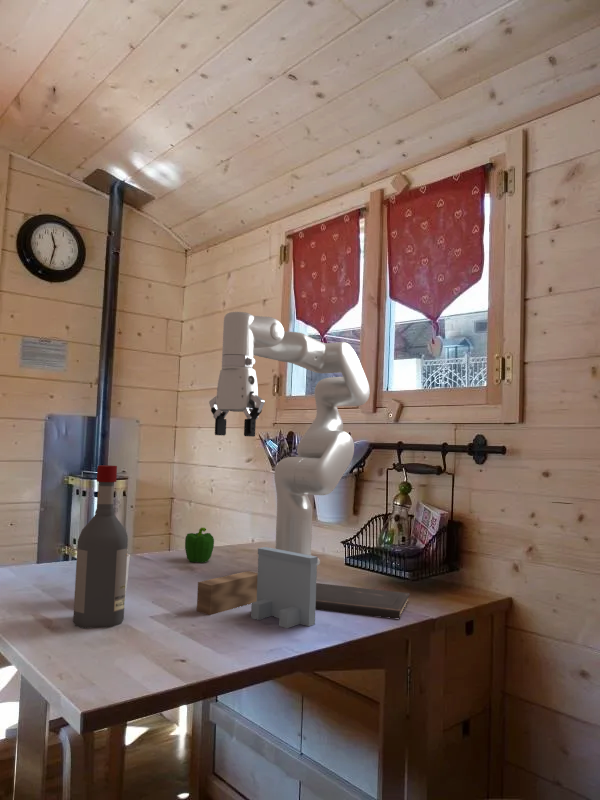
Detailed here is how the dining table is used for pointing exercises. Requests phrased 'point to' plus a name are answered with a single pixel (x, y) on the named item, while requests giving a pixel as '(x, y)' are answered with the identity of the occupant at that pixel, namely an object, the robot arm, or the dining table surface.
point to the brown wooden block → (227, 592)
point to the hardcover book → (360, 600)
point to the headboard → (286, 587)
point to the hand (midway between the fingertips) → (234, 435)
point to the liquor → (101, 561)
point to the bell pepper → (199, 546)
